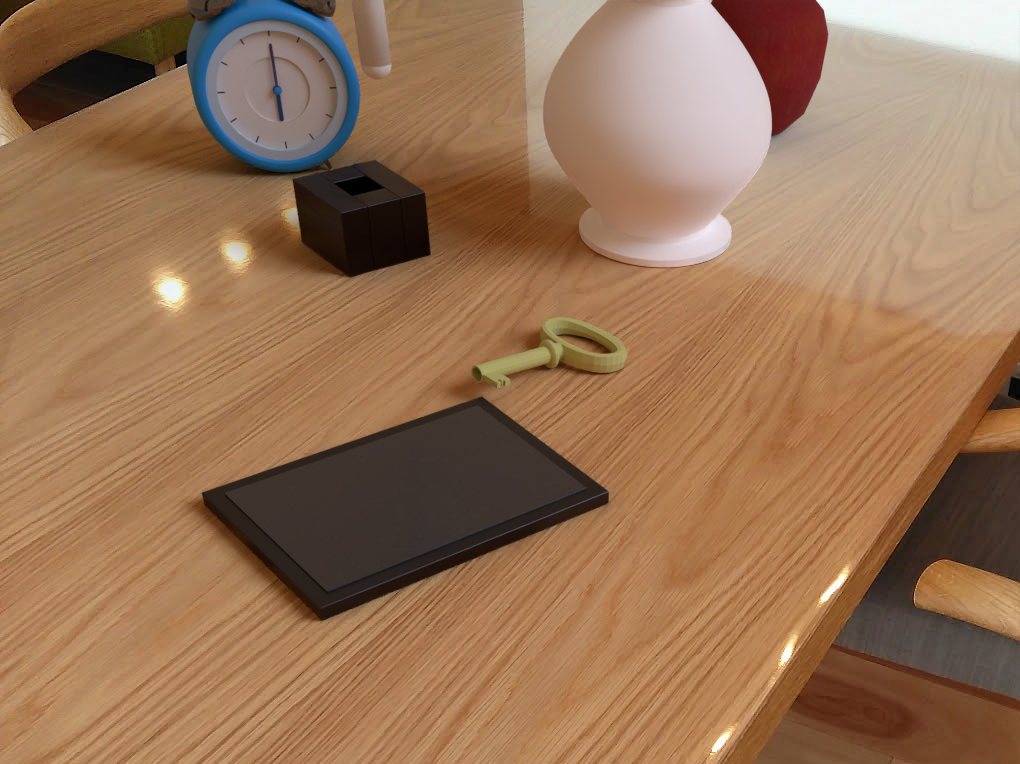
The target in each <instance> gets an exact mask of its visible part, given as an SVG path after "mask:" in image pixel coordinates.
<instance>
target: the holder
mask: <svg viewBox="0 0 1020 764" xmlns="http://www.w3.org/2000/svg"><path fill="white" fill-rule="evenodd" d="M291 181H292V187H293V193H294V198H295V205H296V206H295V207H296V212H297V219H298V226H299V232H300V233H299V234H300V239H301V243H303V244H304V245H305V246H307V247H308V248H309V249H310V250H311V251H313V252H314V253H316V254H317V255H319V256H320V257H321V258H323V259H324V260H325V261H327V262H328V263H330V264H331V265H332V266H333V267H335V268H337V269H338V270H339V271H340V272H342V273H343V274H344V275H346V276H347V277H349V278H351V277H355V276H358V275H361V274H366V273H369V272H373V271H377V270H380V269H383V268H387V267H391V266H395V265H398V264H401V263H402V264H403V263H404V262H409V261H413V260H417V259H420V258H424V257H427V256H430V255H432V254H431V241H430V231H429V229H430V228H429V219H428V207H427V198H426V197H427V196H426V191H424V190H423V189H421V188H420V187H419V186H418V185H415V184H414V183H412V182H411V181H409V180H408V179H407V178H404V177H403V176H402V175H400V174H399V173H397V172H396V171H394V170H392V169H391V168H389V167H387V166H386V165H384V164H383V163H382V162H380V161H378V160H377V159H372V160H368V161H363V162H360V163H355V164H350V165H346V166H342V167H338V168H334V169H333V168H332V169H329V170H325V171H321V172H316V173H311V174H308V175H303V176H299V177H293V178H292V179H291Z"/></svg>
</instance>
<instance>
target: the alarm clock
mask: <svg viewBox="0 0 1020 764" xmlns="http://www.w3.org/2000/svg"><path fill="white" fill-rule="evenodd" d="M185 2H186V8H187V11H188V13H189V14H190V16H191V18H192V19H193V20H194V21H195V22H194V23H193V26H192V28H191V30H190V33H189V38H188V39H187V40H188V41H187V46H186V68H187V74H188V79H189V83H190V88H191V92H192V97H193V102H194V105H195V108H196V111H197V113H198V115H199V118H200V119H201V122H202V123H203V126H204V127H205V128H206V131H208V132H209V134H210V135H211V137H213V139H214V140H215V142H217V143H218V144H219V145H220V146H221V147H222V149H224V150H225V151H227V153H229V154H230V155H232V156H233V157H234V158H236V159H238V160H239V161H241V162H243V163H245V164H246V170H245V174H246V175H247V176H249V175H250V173H251V172H252V170H253V169H254V168H257V169H260V170H264V171H269V172H274V173H294V172H301V171H305V170H309V169H313V168H315V167H317V166H319V165H321V164H325V166H326V167H327V168H328V169H329V170H333V166H332V164H331V163H330V160H329V159H331V158H332V157H333V156H335V155H336V154H337V153H338V152H339V151H340V150H341V149H342V148H343V147H344V145H345V144H346V143H347V141H348V140H349V138H350V136H351V135H352V133H353V132H354V129H355V126H356V124H357V121H358V117H359V113H360V105H361V87H360V86H361V85H360V80H359V77H358V73H357V69H356V66H355V64H354V61H353V59H352V57H351V55H350V52H349V49H348V48H347V45H346V43H345V41H344V39H343V36H342V34H341V33H340V31H339V29H338V28H337V26H336V24H335V23H334V22H333V20H332V19H331V18H332V17H334V15H335V13H336V7H337V1H336V0H185Z"/></svg>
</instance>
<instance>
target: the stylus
mask: <svg viewBox="0 0 1020 764" xmlns="http://www.w3.org/2000/svg"><path fill="white" fill-rule="evenodd" d="M351 6H352V12H353V19H354V26H355V34H356V40H357V47H358V55H359V62H360V67H361V69H362V71H363V72H364V74H365V75H366V76H367V77H369V78H370V79H372V80H383V79H384V78H386V77H388V76H389V74H390V73H391V70H392V66H393V65H392V64H393V63H392V55H391V47H390V42H389V41H390V40H389V33H388V26H387V25H388V24H387V18H386V17H387V16H386V10H385V1H384V0H351Z"/></svg>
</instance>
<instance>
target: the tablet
mask: <svg viewBox="0 0 1020 764" xmlns="http://www.w3.org/2000/svg"><path fill="white" fill-rule="evenodd" d="M201 497H202V501H203V505H204V506H205V507H206V508H207V509H208V510H209V511H210V512H211V513H212V514H213V515H214V516H215V517H216V518H217V519H218V520H219V521H220V522H222V524H223V525H225V526H226V527H227V529H229V530H230V532H232V534H233V535H235V536H236V537H237V539H239V540H240V541H241V542H242V544H244V545H245V547H247V548H248V549H249V551H251V552H252V553H253V554H254V555H255V556H256V557H257V558H258V559H259V561H261V562H262V563H263V564H264V565H265V566H266V567H267V568H268V569H269V570H270V571H271V572H272V573H273V574H274V575H276V577H278V579H279V580H281V581H282V582H283V583H284V584H285V586H287V587H288V588H289V589H290V591H292V593H294V594H295V595H296V596H297V597H298V598H299V599H300V600H301V601H302V602H303V603H304V604H305V605H306V606H307V607H308V608H309V609H310V610H311V611H312V612H313V613H314V614H315V615H316V616H317V617H318V618H319V619H320V620H321V621H325V620H327V619H330V618H332V617H335V616H337V615H340V614H342V613H345V612H347V611H350V610H352V609H354V608H357V607H359V606H361V605H364V604H366V603H368V602H371V601H373V600H374V601H375V600H376V599H379V598H381V597H383V596H385V595H388V594H391V593H393V592H395V591H398V590H400V589H403V588H405V587H408V586H410V585H413V584H415V583H418V582H420V581H422V580H425V579H427V578H429V577H432V576H434V575H437V574H440V573H442V572H445V571H447V570H449V569H451V568H454V567H456V566H459V565H461V564H464V563H466V562H468V561H472V560H474V559H476V558H478V557H481V556H483V555H485V554H488V553H490V552H493V551H495V550H497V549H500V548H503V547H505V546H507V545H510V544H513V543H515V542H517V541H519V540H523V539H525V538H528V537H529V536H532V535H534V534H537V533H539V532H542V531H544V530H547V529H549V528H551V527H553V526H556V525H558V524H562V523H563V522H565V521H569V520H570V519H573V518H576V517H579V516H580V515H583V514H585V513H588V512H590V511H593V510H595V509H597V508H599V507H602V506H605V505H607V504H609V503H610V491H609V490H608V489H606V488H605V487H604V486H602V485H601V484H600V483H598V482H597V481H596V480H595V479H594V478H592V477H591V476H589V475H588V474H586V473H585V472H584V471H582V470H581V469H580V468H579V467H577V465H574V463H572V462H570V461H569V460H568V459H567V458H565V457H564V456H562V455H561V454H559V452H557V451H556V450H555V449H553V448H552V447H551V446H549V445H548V444H546V442H544V441H542V440H541V439H540V438H539V437H537V436H536V435H535V434H533V433H532V432H530V431H529V430H528V429H527V428H525V427H524V426H523V425H521V424H520V423H518V422H517V421H515V420H514V419H513V418H512V417H510V416H509V415H508V414H506V413H505V412H504V411H503V410H501V409H499V408H498V406H496V405H494V404H493V403H492V402H490V401H489V400H487V398H485V397H484V396H479V397H476V398H473V399H470V400H468V401H464V402H461V403H459V404H455V405H452V406H450V407H447V408H444V409H441V410H438V411H435V412H433V413H432V412H431V413H429V414H427V415H424V416H420V417H418V418H415V419H412V420H409V421H405V422H403V423H400V424H397V425H394V426H391V427H388V428H385V429H383V430H380V431H377V432H374V433H371V434H368V435H364V436H362V437H360V438H357V439H353V440H351V441H347V442H345V443H342V444H339V445H336V446H333V447H330V448H327V449H324V450H322V451H319V452H315V453H313V454H309V455H307V456H304V457H301V458H297V459H295V460H292V461H290V462H287V463H284V464H280V465H277V466H274V467H272V468H269V469H266V470H262V471H260V472H257V473H254V474H252V475H248V476H246V477H243V478H240V479H237V480H234V481H232V482H227V483H225V484H223V485H219V486H216V487H213V488H210V489H207V490H205V491H201Z"/></svg>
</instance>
